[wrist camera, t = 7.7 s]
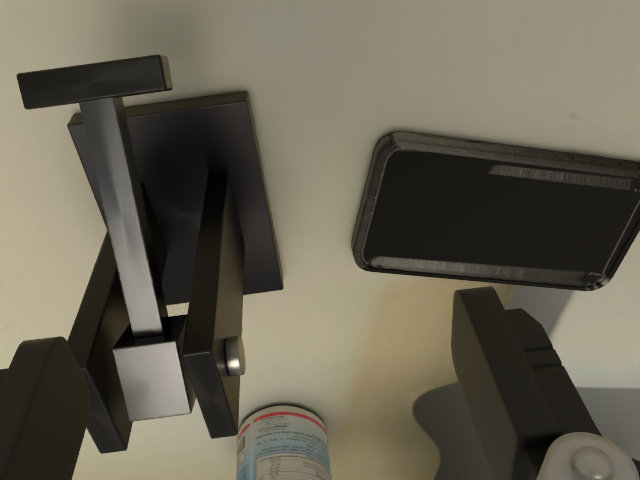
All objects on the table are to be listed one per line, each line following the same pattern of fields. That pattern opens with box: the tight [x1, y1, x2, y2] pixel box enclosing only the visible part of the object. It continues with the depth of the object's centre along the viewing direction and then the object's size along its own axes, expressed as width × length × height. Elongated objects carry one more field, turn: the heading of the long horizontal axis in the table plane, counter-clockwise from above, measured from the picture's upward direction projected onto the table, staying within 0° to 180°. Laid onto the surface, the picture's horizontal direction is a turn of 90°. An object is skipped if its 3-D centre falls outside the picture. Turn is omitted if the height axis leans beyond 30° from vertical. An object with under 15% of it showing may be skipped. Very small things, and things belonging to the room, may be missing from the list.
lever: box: [17, 55, 196, 422], centre depth 21 cm, size 12×4×2 cm, turn 7°
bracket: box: [67, 91, 283, 454], centre depth 26 cm, size 11×8×13 cm
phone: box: [352, 132, 640, 291], centre depth 32 cm, size 8×1×15 cm
